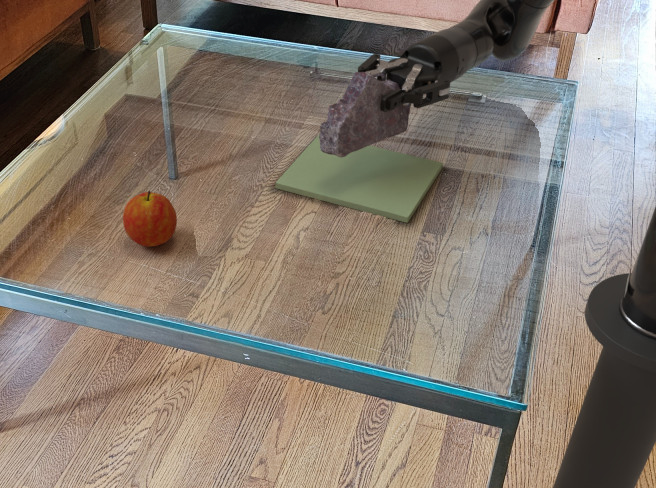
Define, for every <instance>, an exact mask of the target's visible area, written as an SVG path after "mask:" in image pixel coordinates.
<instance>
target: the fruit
mask: <svg viewBox="0 0 656 488" xmlns="http://www.w3.org/2000/svg"><path fill="white" fill-rule="evenodd" d="M177 218H178V217H177V211H176V209H175V207H174V206H173V204H172V202H171V200H169V198H168V197H167V196H165V195H163V194H161V193H157V192H153V191H152V192H151V190H148V191H145V192H141V193H139V194H137V195H135V196H134V197H132V198H131V199H129V201H128V202H127V203H126V205H125V207H124V209H123V213H122V224H123V229H124V231H125V233H126V235H127V236H128V237H129V239H130V240H131V241H133V242H134V243H136V244H138V245H139V246H143V247H147V248H149V247H157V246H160V245H163V244H165V243H166V242H168V241H169V240H170V239H171V238H172V237H173V235H174V234H175V231H176V228H177V224H178V219H177Z"/></svg>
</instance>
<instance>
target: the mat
mask: <svg viewBox="0 0 656 488" xmlns="http://www.w3.org/2000/svg"><path fill="white" fill-rule="evenodd" d="M319 141H320V139H319V134H318V135H317V136H316V137H315V138H314V139H313V140H312V142H310V144H309V145H308V146H307V147H306V148H305V149H304V150H303V152H302V153H301V154H300V155H299V156H298V157H297V158H296V160H294V161H293V162H292V164H291V165H290V166H289V167H288V168H287V169H286V171H285V172H283V174H282V175H281V176H280V177H279V178H278V179H277V180H276V181H275V189H277V190H280V191H285V192H288V193H292V194H296V195H300V196H303V197H307V198H310V199H315V200H319V201H322V202H326V203H330V204H334V205H338V206H341V207H345V208H349V209H353V210H355V211H359V212H360V211H361V212H364V213H367V214H368V213H369V214H372V215H375V216H379V217H383V218H387V219H391V220H395V221H399V222H402V223H406V224H408V223H409V222H410V220H411V218H412V217H413V215H414V214H415V212H416V211H417V209H418V207H419V206H420V204H421V202H422V201H423V199H424V198H425V196H426V194H427V193H428V191H429V190H430V189H431V187H432V186H433V184H434V182H435V180H436V179H437V177H438V176H439V175H440V173H441V171H442V169H443V166H444V162H442V161H438V160H433V159H429V158H424V157H421V156H416V155H412V154H407V153H403V152H398V151H395V150H391V149H385V148H382V147H378V146H373V145H369V146H367V147H365V148H362V149H360V150H357V151H354V152H352V153H350V154H348V155H347V156H345V157H342V158H341V157H338V156H336V155H330V154H327V153H324V152H322V151H321V150H320V142H319Z"/></svg>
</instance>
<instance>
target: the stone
mask: <svg viewBox="0 0 656 488" xmlns="http://www.w3.org/2000/svg"><path fill="white" fill-rule="evenodd" d="M397 88H400V87H399V85H398V84H397V83H395V82H393V81H391V80H389V79H388V80H386V81H379V80H377V77H373V75H368V74H367V73H365V72H358V71H355V72H354V73H353V76H352V78H351V79H350V81H349V83H348V85H347V86H346V89H345V92H344V93H343V95H342V97H341V98H340V99H339V100H337V102H335V103H333V104H331V105H329V106H328V108H327V109H328V112H327V117H326V121H324V122H322V123H320V125H319V133H318V135H319V139H320V141H319V142H320V150H321V151H322V152H324V153H327V154H330V155H336V156H338V157H341V158H342V157H345V156H347V155H348V154H350V153H352V152H354V151H357V150H360V149H362V148H365V147H367V146H373V145H375V144H377V143H380V142H382V141H384V140H386V139H389V138H393V137H397V136H398V135H400V134H403V133H405V132H407V130H408V127H409V117H410V113H411V106H412V104H411V103H409V105H401V106H399V107H397V108H396V109H394V110H389V111H388V112H386V113H385V112H383V111H381V110H380V107H381V99H382V97H383V96H384V95H386V94H388V93H390V92H392V91H394V90H395V89H397Z"/></svg>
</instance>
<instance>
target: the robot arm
mask: <svg viewBox="0 0 656 488" xmlns="http://www.w3.org/2000/svg"><path fill="white" fill-rule="evenodd" d="M554 2H555V0H479V1H478V2H477V3H476V4H475V5H474V6H473V8H472V10H471V11H470V12H469V13H468V14H467V16H466V17H464V19H462V20H461V21H459V22H457V23H456V24H454V25H452V26H450V27H448V28H444V29H441V30H438V31H436V32H435V33H433V34H430V35H429V36H426V37H424V38H422V39H421V40H419V41H417V42H415V43H412V44H410V45H409V46H408V47H407V48H406V49H405V51H403V53H402V54H401V55H400V57H397V58H392V59H390V60H388V61H387V60H383V59H381V54H380V53H373V54H372V55H370V56H369V57H368V58H367V59H365V60H364V61H363V62H362V63H361V64H360V65H359V66H357V72H365V73H367V74H368V75H373V77H375V78H376V79H377V80H379V81H387V80H388V79H389V80H391V81H393V82H395V83H397V84H398V85H399V87H400V88H397V89H395V90H394V91H392V92H390V93H388V94H386V95H384V96H383V97H382V99H381V107H380V110H381V111H383V112H385V113H386V112H388V111H389V110H394V109H396V108H397V107H399V106H401V105H409V103H411V105H413V107H414V108H416V109H421V108H424V107H427V106H431V105H434V104H436V103H439V102H442V101H445V100H448V99H449V94H450V89H451V83H453V82H455V81H456V80H458V79H460V78H461V77H463V76H464V75H465V74H466V73H467V72H468V71H471V70H472V69H474V68H476V67H477V66H479V65H482V63H485V62H486V61H487V60H488V59H490V57H491V55H492V56H493V57H494V58H495V59H497V60H498V61H502V62H506V61H511V60H514V59H516V58H518V57H519V56H521V55H522V54H523V53H524V52H525V51H526V50H527V48H528V47H529V46H530V44H531V42H532V40H533V39H534V36H535V34H536V32H537V31H538V27H539V25H540V23H541V20H542V19H543V16H544V14H545V13H546V11H547V10H548V8H549V7H550V6H551V5H552V4H553V3H554ZM424 95H425V97H424ZM628 273H629V275H630V273H631V276H630V279H629V276H628V279H627V284H626V289H625V292H624V295H623V297H622V299H621V302H620V305H619V311H620V314H621V316H622V318H623V319H624V321H625V322H626V323H627V324H628V325H629V326H630V327H631V328H633V329H634V330H635V331H637V332H639V333H640V334H642V335H644V336H646V337H649V338H651V339H654V340H656V206H655V207H654V210H653V213H652V215H651V218H650V220H649V224H648V226H647V229H646V232H645V234H644V237H643V240H642V243H641V245H640V247H639V252H638V254H637V256H636V260H635V263H634V265H633V268H632V270H631V272H628ZM628 281H629V282H628Z"/></svg>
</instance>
